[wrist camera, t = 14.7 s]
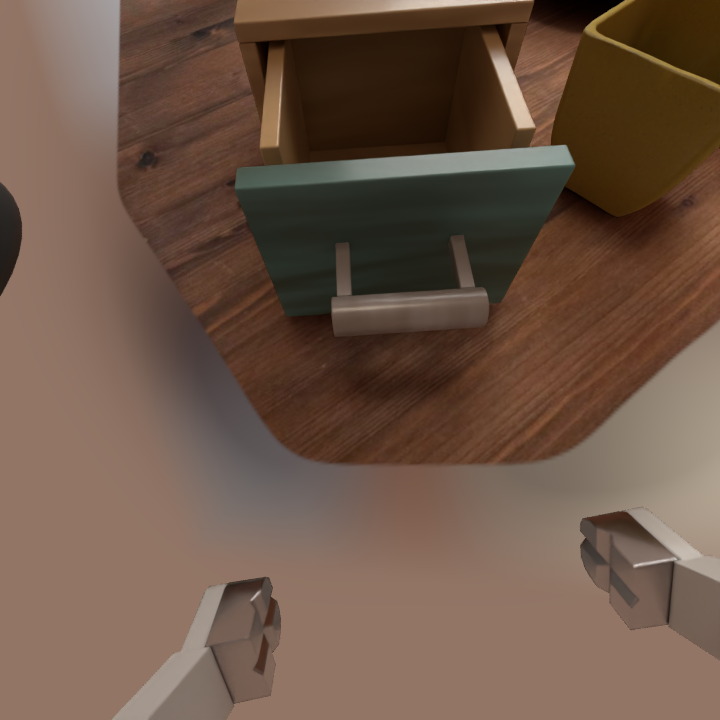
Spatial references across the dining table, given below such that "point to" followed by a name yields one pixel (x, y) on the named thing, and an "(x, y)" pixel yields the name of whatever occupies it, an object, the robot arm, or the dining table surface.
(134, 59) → the dining table surface
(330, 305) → the drawer
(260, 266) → the dining table surface
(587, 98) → the flower pot
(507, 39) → the cabinet
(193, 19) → the dining table surface
